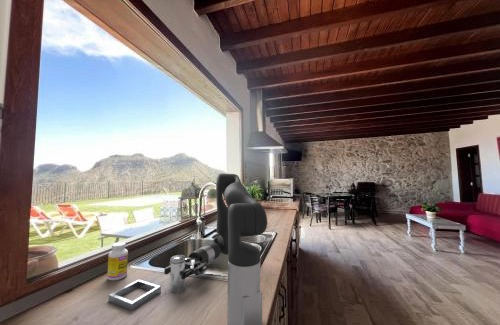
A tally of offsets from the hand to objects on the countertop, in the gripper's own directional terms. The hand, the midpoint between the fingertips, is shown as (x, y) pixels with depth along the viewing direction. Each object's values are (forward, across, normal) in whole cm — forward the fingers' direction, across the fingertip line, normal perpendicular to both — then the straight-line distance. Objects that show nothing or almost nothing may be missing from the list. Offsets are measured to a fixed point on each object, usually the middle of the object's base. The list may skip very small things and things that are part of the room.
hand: (173, 273), depth 74 cm
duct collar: (+8, -9, +6) cm, 13 cm away
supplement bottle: (+2, -28, +6) cm, 28 cm away
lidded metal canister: (-2, 0, +6) cm, 6 cm away
